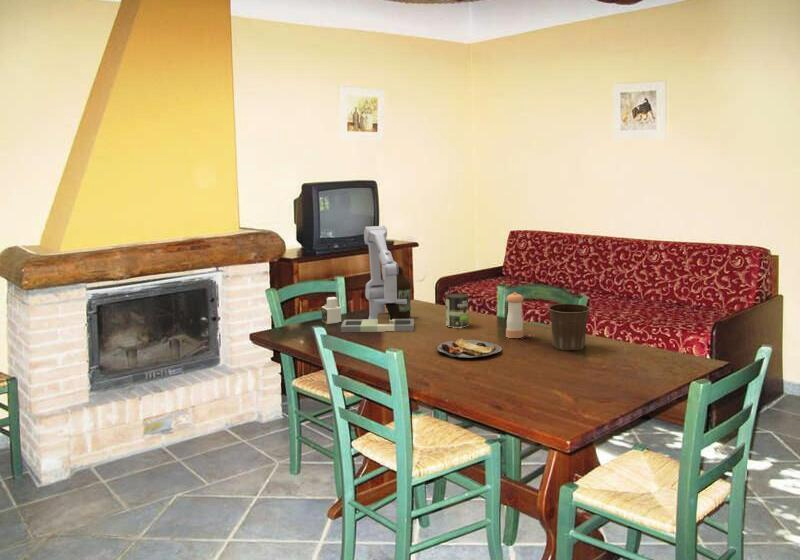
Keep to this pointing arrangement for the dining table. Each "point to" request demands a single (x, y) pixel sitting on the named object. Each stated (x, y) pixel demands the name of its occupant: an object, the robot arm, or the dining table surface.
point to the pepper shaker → (514, 316)
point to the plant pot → (568, 325)
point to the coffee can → (456, 310)
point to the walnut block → (383, 318)
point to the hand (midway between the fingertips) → (391, 319)
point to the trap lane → (377, 325)
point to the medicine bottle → (331, 310)
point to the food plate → (468, 348)
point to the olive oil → (402, 296)
